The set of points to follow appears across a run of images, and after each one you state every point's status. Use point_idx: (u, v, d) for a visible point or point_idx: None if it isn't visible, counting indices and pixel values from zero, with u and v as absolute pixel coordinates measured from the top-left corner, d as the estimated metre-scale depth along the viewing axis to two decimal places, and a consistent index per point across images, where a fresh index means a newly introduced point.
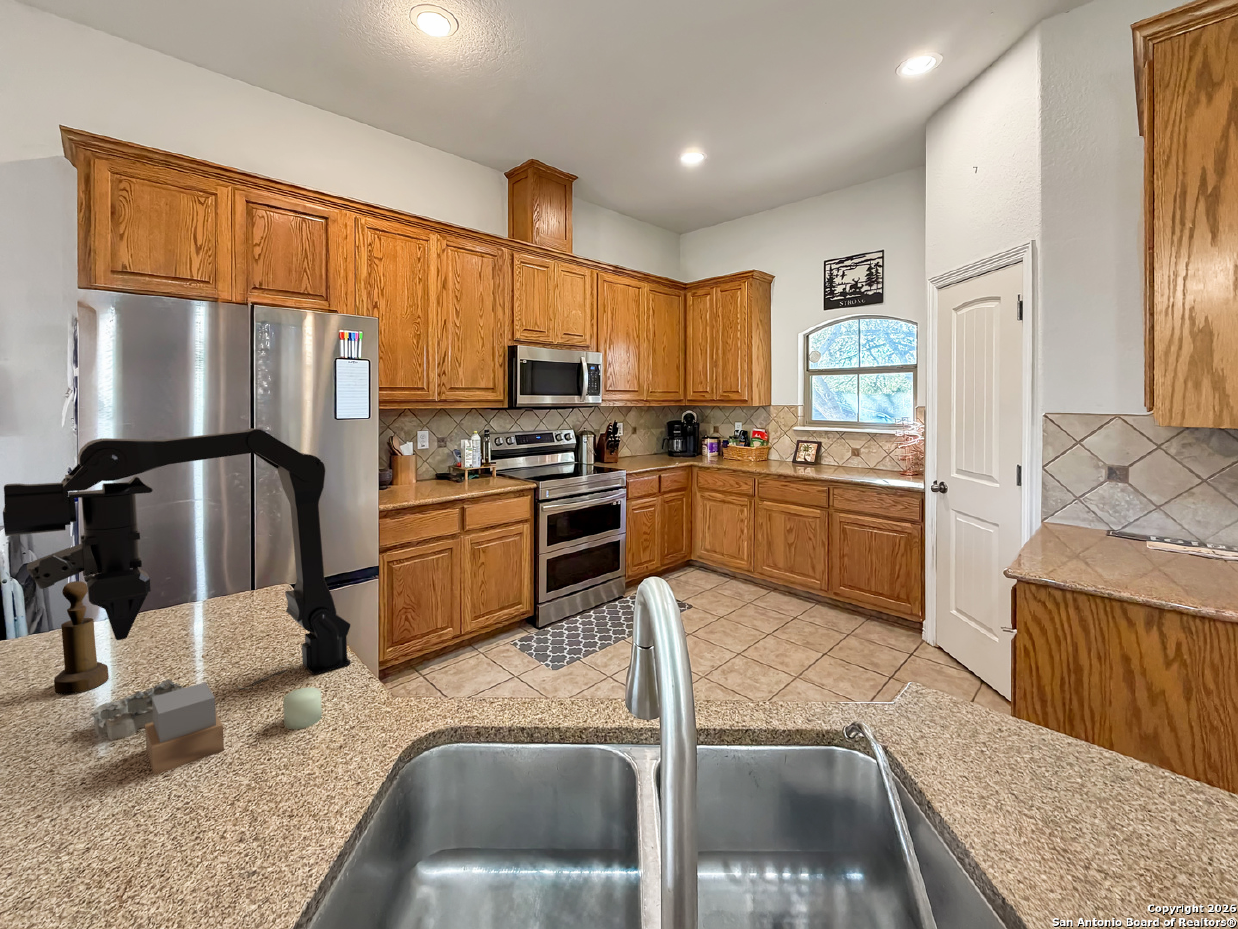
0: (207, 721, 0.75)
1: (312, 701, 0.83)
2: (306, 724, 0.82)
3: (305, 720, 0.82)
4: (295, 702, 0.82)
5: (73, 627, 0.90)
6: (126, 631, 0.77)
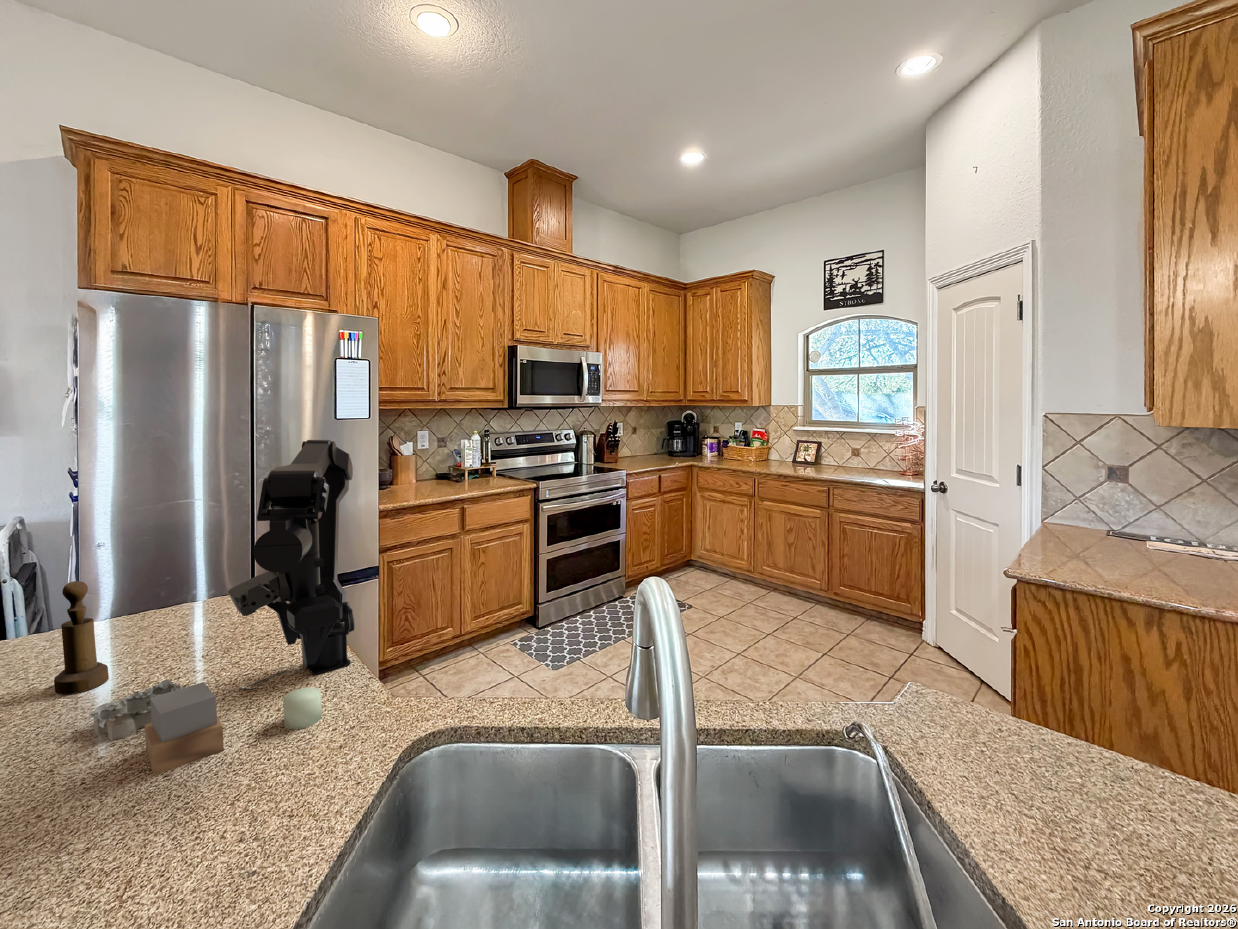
0: (208, 720, 0.76)
1: (312, 701, 0.83)
2: (306, 724, 0.82)
3: (305, 720, 0.82)
4: (295, 702, 0.82)
5: (73, 627, 0.90)
6: (316, 655, 0.80)
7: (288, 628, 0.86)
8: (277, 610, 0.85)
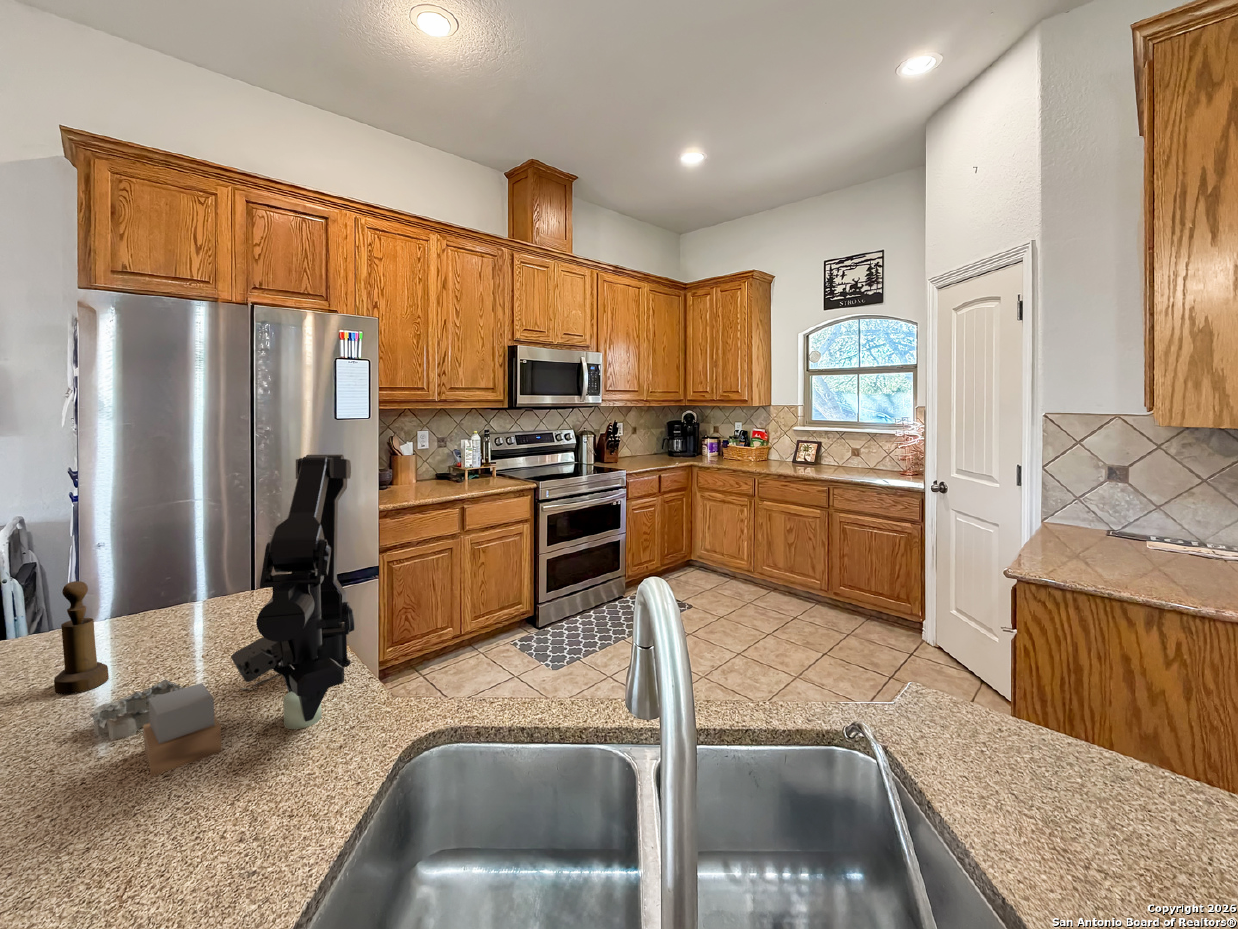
0: (206, 721, 0.75)
1: None
2: (306, 724, 0.82)
3: None
4: (294, 702, 0.82)
5: (73, 627, 0.90)
6: (313, 712, 0.82)
7: None
8: (283, 673, 0.85)
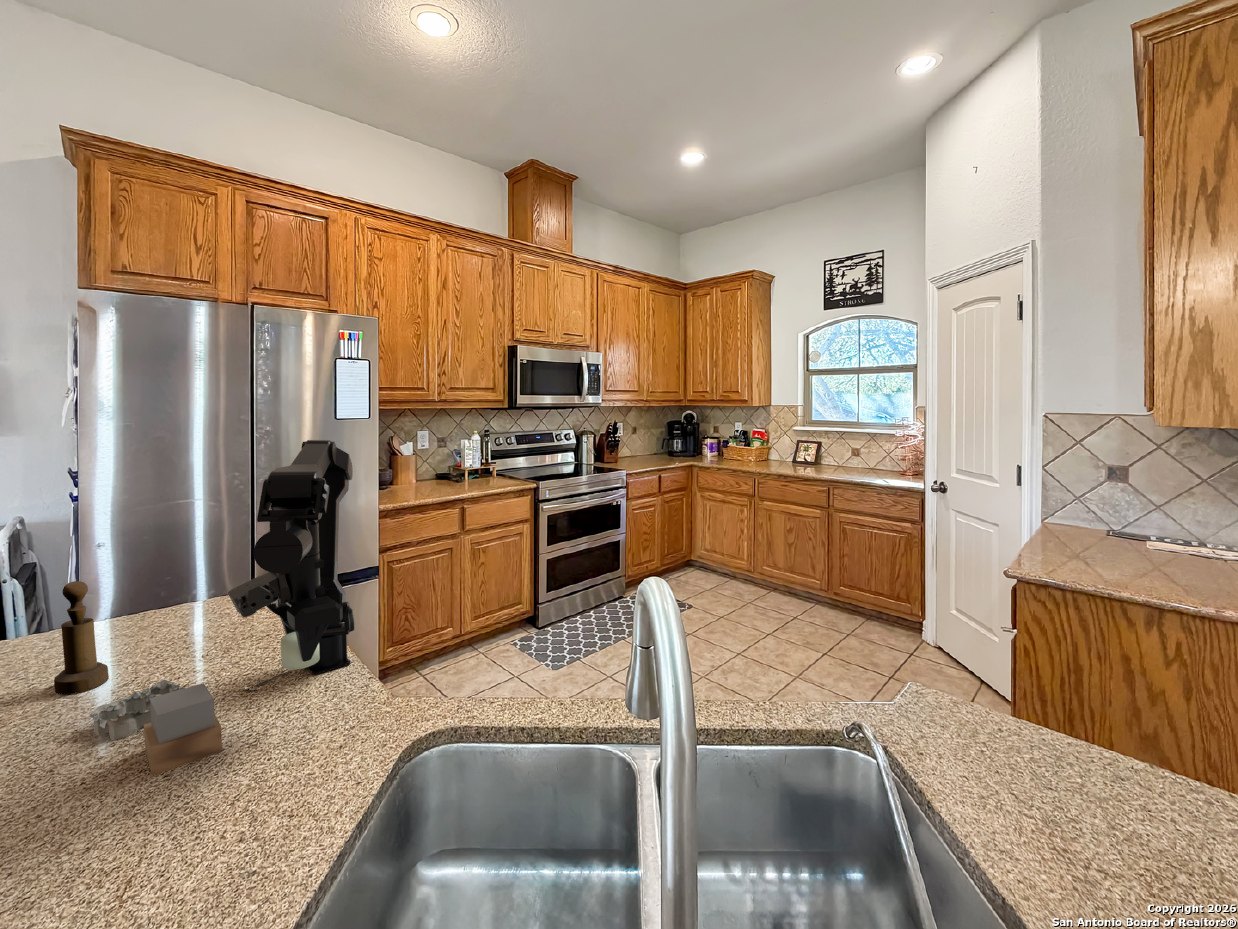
0: (206, 722, 0.75)
1: None
2: (303, 664, 0.81)
3: None
4: (292, 642, 0.81)
5: (73, 627, 0.90)
6: (311, 653, 0.81)
7: None
8: (281, 615, 0.84)
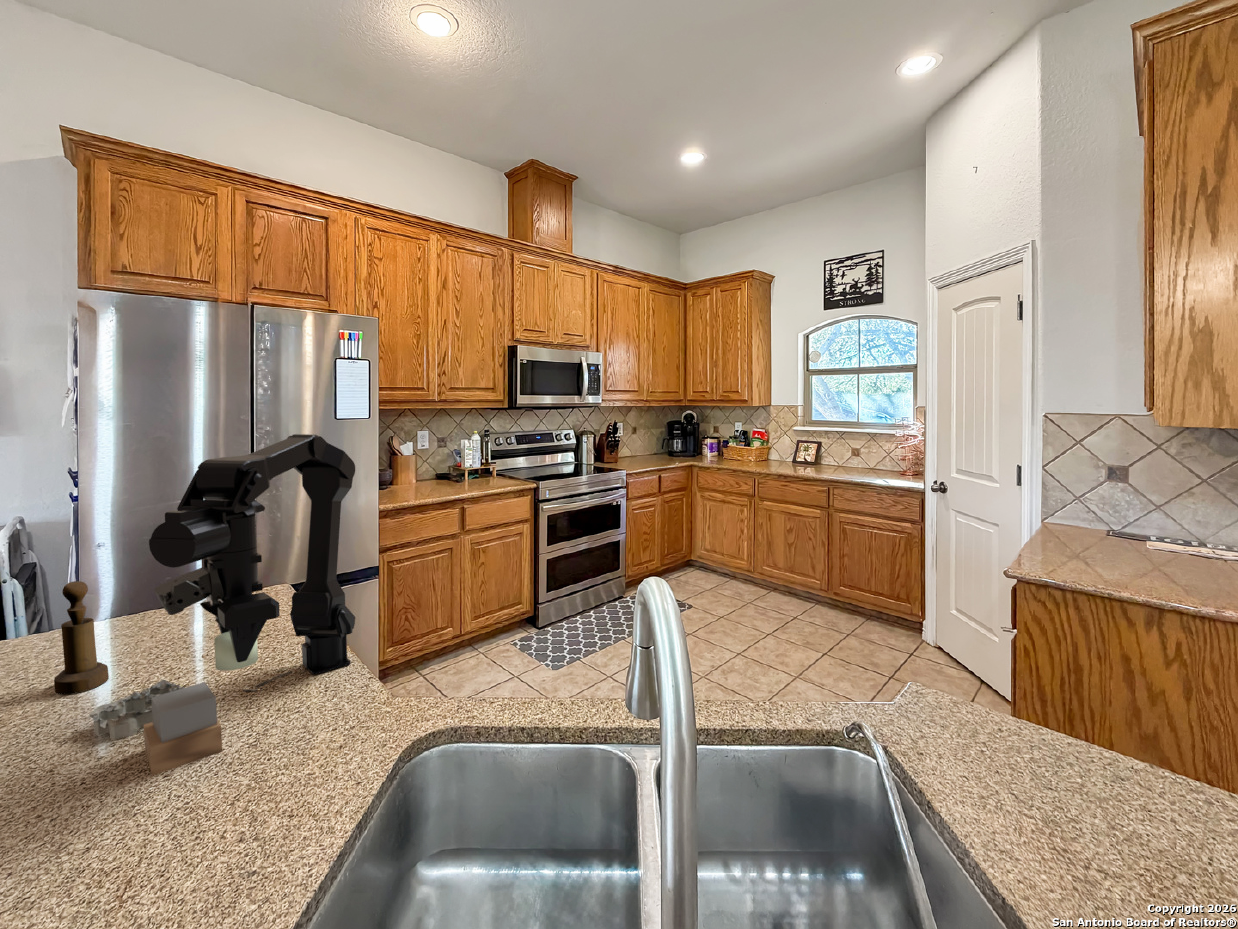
0: (208, 720, 0.75)
1: None
2: (239, 665, 0.76)
3: None
4: (226, 641, 0.76)
5: (73, 627, 0.90)
6: (247, 653, 0.76)
7: None
8: (215, 613, 0.79)
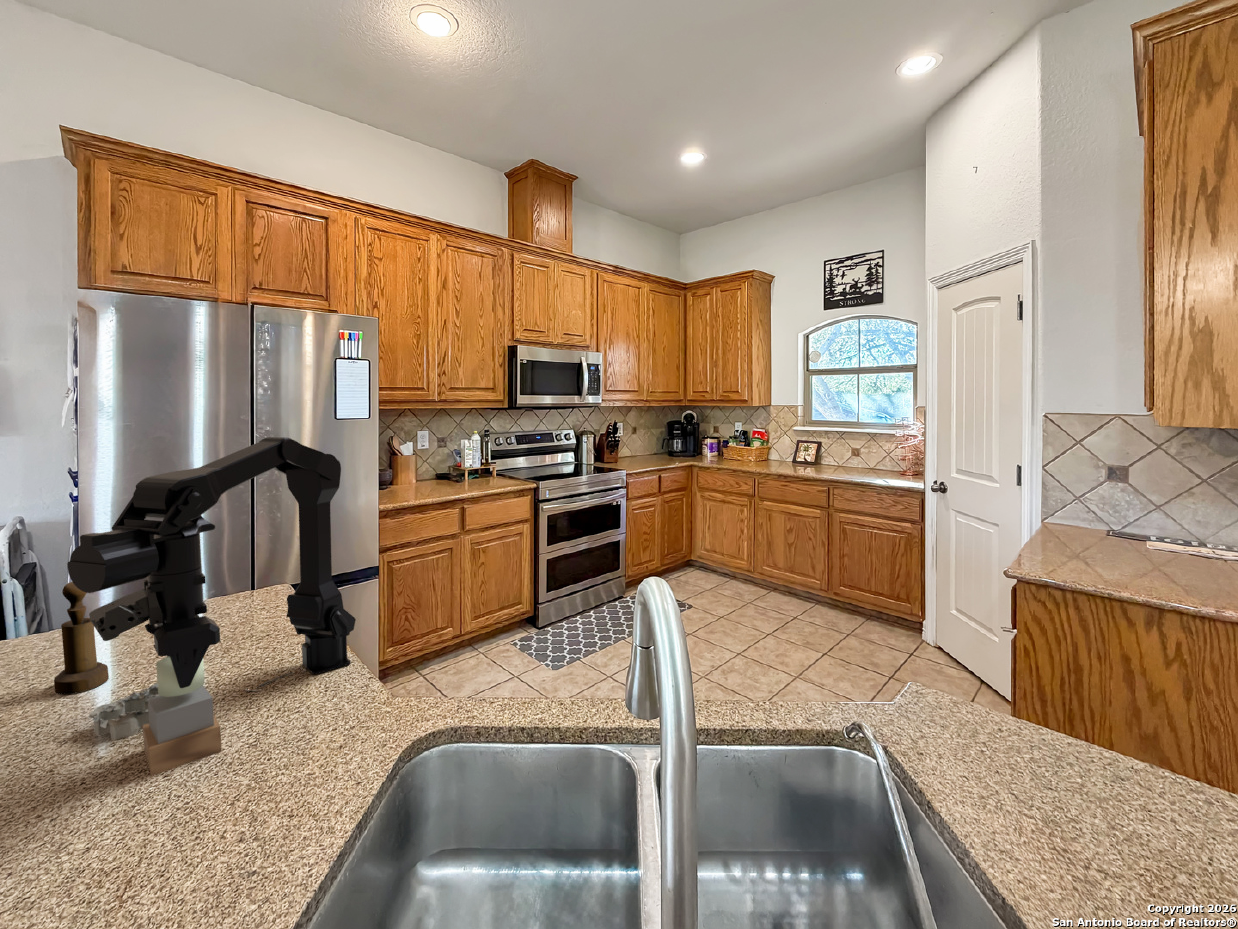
0: (205, 721, 0.75)
1: None
2: (181, 691, 0.73)
3: None
4: (168, 666, 0.73)
5: (73, 627, 0.90)
6: (190, 678, 0.73)
7: None
8: None
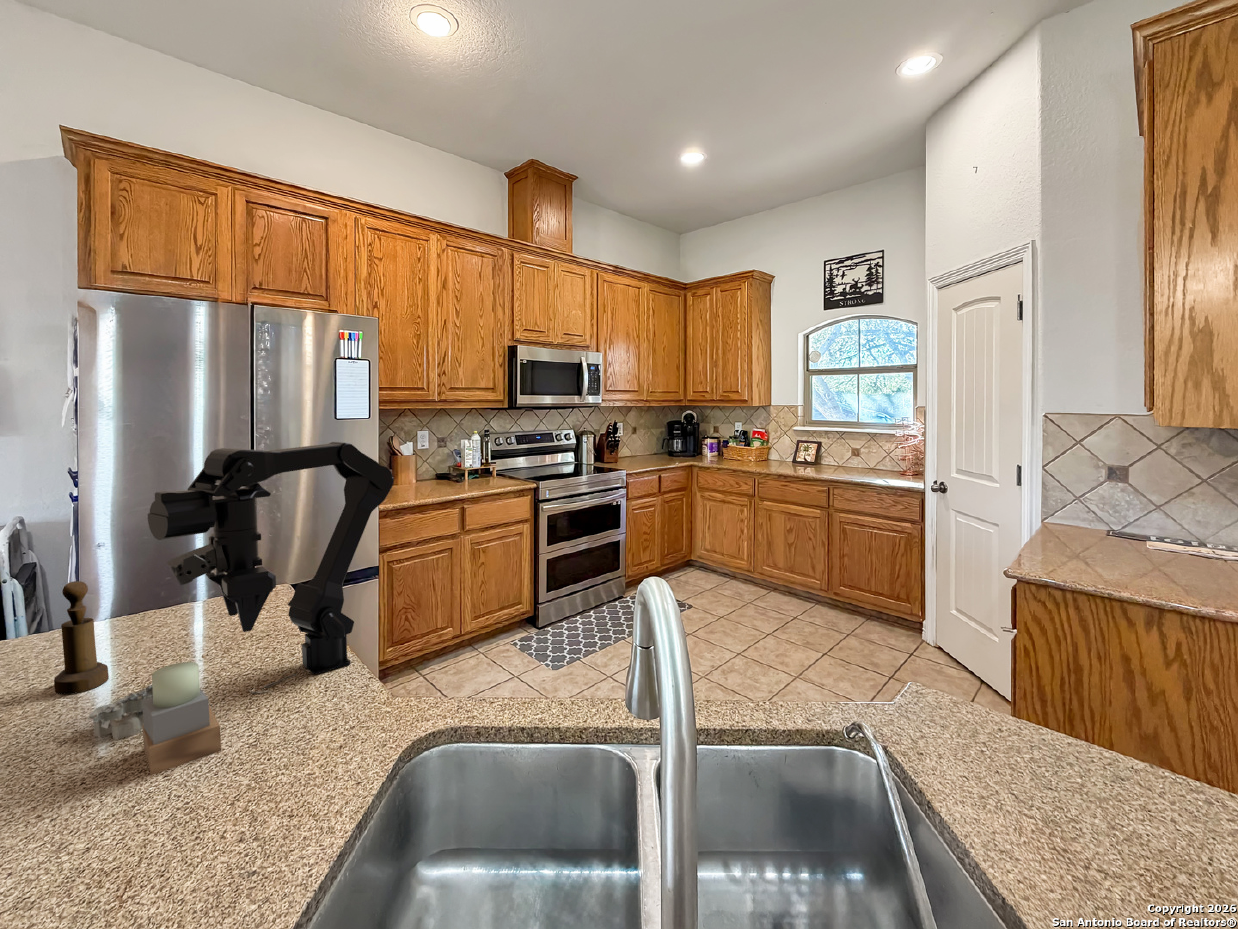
0: (201, 722, 0.75)
1: (186, 675, 0.74)
2: (179, 701, 0.74)
3: (178, 697, 0.73)
4: (165, 677, 0.73)
5: (73, 627, 0.90)
6: (252, 623, 0.85)
7: (229, 600, 0.91)
8: (219, 582, 0.90)
